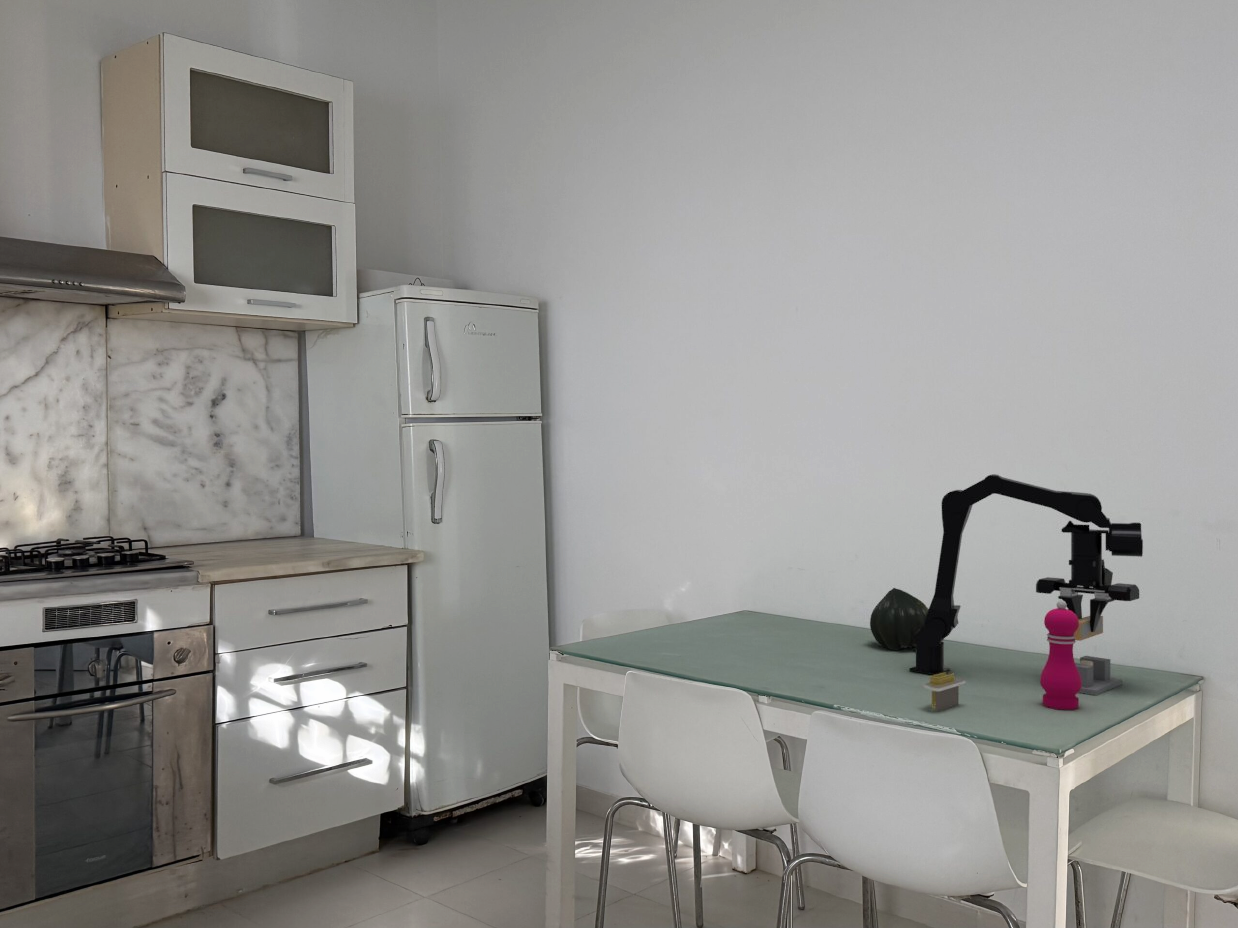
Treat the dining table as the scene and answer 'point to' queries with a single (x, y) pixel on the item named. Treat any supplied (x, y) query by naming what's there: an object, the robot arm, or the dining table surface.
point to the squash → (897, 619)
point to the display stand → (1096, 675)
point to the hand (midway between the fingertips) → (1086, 630)
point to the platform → (944, 690)
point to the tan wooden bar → (1087, 628)
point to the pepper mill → (1061, 660)
